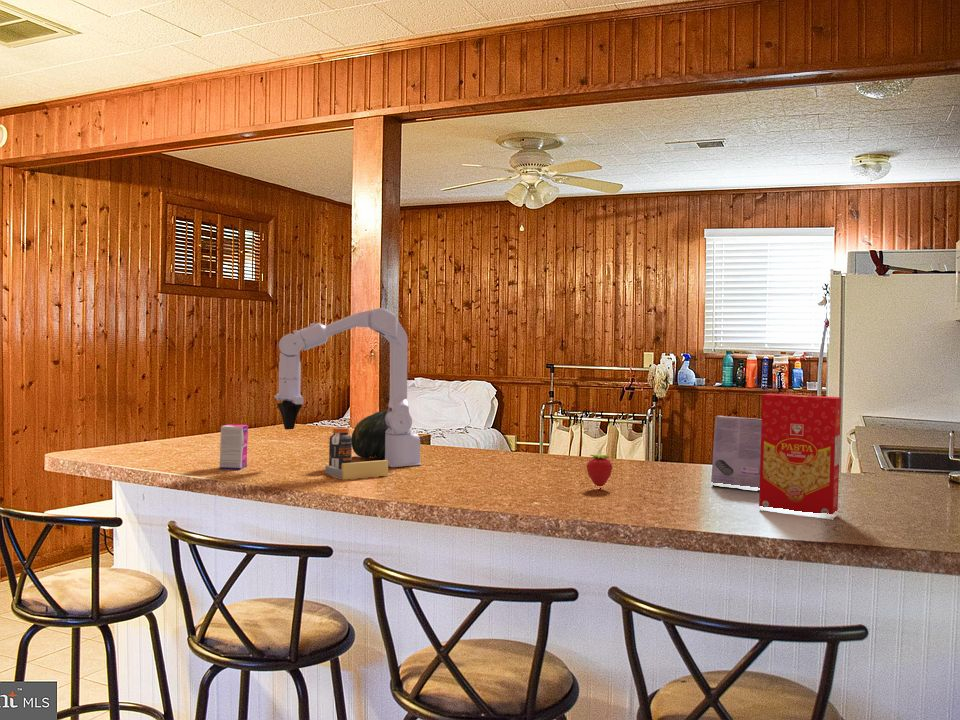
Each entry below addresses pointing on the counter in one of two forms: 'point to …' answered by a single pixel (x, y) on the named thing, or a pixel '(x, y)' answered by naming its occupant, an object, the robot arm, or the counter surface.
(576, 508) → the counter surface
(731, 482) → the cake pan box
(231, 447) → the supplement box
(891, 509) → the counter surface
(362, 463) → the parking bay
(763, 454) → the food packaging
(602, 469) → the strawberry
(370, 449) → the squash
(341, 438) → the pill bottle
